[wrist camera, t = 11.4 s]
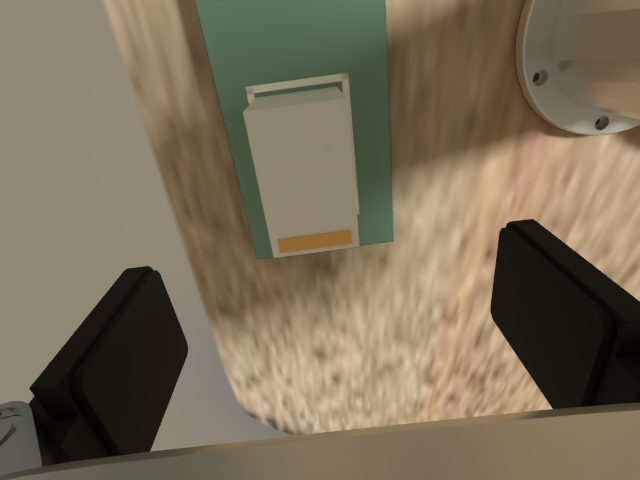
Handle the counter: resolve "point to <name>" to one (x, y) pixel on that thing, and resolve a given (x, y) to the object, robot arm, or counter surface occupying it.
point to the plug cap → (304, 170)
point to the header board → (306, 88)
